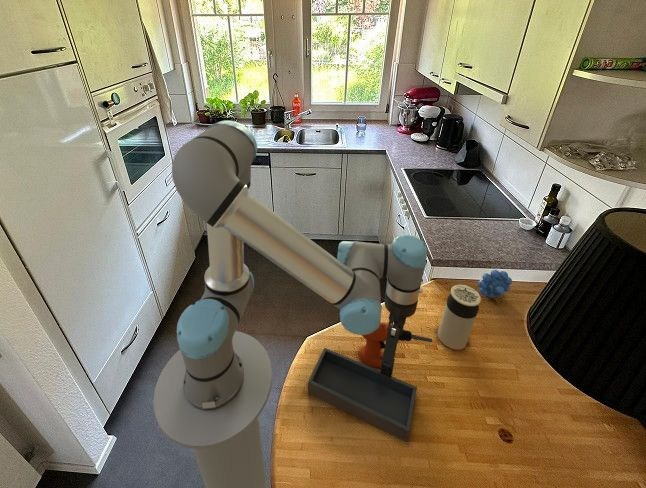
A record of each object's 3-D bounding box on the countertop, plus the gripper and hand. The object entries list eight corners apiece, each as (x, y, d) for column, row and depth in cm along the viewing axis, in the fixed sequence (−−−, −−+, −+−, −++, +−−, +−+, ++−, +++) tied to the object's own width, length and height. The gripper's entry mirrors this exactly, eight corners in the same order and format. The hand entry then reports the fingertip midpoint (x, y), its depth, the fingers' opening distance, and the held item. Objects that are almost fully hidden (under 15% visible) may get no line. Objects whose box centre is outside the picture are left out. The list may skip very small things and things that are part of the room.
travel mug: (464, 355, 91) (480, 310, 83) (434, 342, 95) (447, 298, 86) (468, 334, 97) (483, 290, 89) (440, 322, 101) (452, 279, 92)
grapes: (480, 308, 106) (490, 281, 100) (469, 292, 112) (478, 266, 106) (514, 305, 107) (525, 278, 101) (501, 290, 112) (511, 264, 107)
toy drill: (430, 380, 83) (433, 340, 77) (357, 364, 90) (354, 326, 83) (430, 363, 87) (432, 324, 81) (360, 349, 94) (358, 311, 87)
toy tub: (307, 392, 82) (307, 382, 80) (324, 357, 91) (324, 347, 88) (406, 442, 73) (409, 431, 70) (414, 397, 81) (417, 387, 79)
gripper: (408, 342, 66) (396, 402, 75) (425, 266, 85) (414, 322, 95) (372, 329, 69) (365, 388, 78) (397, 259, 88) (388, 313, 98)
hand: (392, 352), depth 87 cm, fingers open, 13 cm apart
